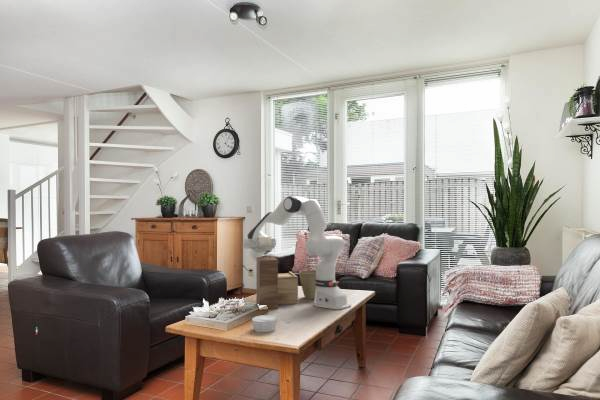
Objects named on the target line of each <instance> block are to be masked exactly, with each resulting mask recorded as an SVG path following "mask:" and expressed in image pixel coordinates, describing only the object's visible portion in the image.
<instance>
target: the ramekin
mask: <svg viewBox="0 0 600 400" xmlns="http://www.w3.org/2000/svg"><path fill="white" fill-rule="evenodd" d="M251 322H252V327H253V330H254V331H255V332H257V333H271V332H273V331H274V330H275V329H276V325H277V324H276V323H277V317H276V316H275V315H268V314H262V315H256V316H254V317H252V318H251Z"/></svg>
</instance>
